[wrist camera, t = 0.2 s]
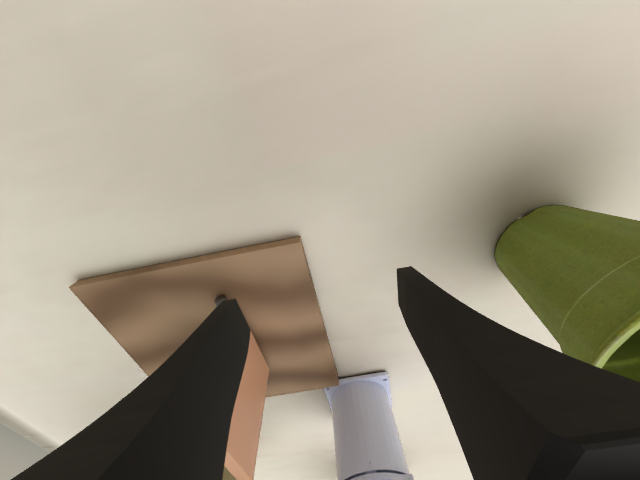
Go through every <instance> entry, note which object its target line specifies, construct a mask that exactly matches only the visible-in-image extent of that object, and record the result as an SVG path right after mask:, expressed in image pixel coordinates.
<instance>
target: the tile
mask: <svg viewBox="0 0 640 480" xmlns="http://www.w3.org/2000/svg"><path fill="white" fill-rule="evenodd" d="M268 375H269V367H268V365H267V363H266V361H265V359H264V357H263V355H262V353H261V351H260V349H259V347H258V345H257V342H256V340H255V338H254V336H253V334H252V332H250V341H249V349H248V354H247V359H246V363H245V367H244V371H243V375H242V378H241V382H240V386H239V390H238V394H237V398H236V402H235V405H234V410H233V414H232V419H231V425H230V431H229V437H228V443H227V450H226V457H225V464H224V466H225V467H226V468H227V469H228V471H229V472H230V473H231V474H232V475H233V476H234V477H235V478H236V479H237V480H253V477H254V470H255V464H256V457H257V450H258V443H259V436H260V430H261V423H262V416H263V409H264V402H265V396H266V389H267V382H268Z"/></svg>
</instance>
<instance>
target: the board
mask: <svg viewBox="0 0 640 480" xmlns="http://www.w3.org/2000/svg"><path fill="white" fill-rule="evenodd" d="M69 288H70V289H71V291H72V292H73V293H74V294H75V295H76V296H77V297H78V298H79V299H80V301H81V302H82V303H83V304H84V305H85V306H86V307H87V308H88V309H89V311H90V312H91V313H92V314H93V315H94V316H95V317H96V318H97V319H98V321H99V322H100V323H101V324H102V325H103V326H104V327H105V328H106V329H107V331H108V332H109V333H110V334H111V335H112V336H113V337H114V338H115V339H116V341H117V342H118V343H119V344H120V345H121V346H122V347H123V348H124V349H125V351H126V352H127V353H128V354H129V355H130V356H131V357H132V358H133V359H134V361H135V362H136V363H137V364H138V365H139V366H140V367H141V368H142V370H143V371H144V372H145V373H146V374H147V375H148V376H150V375H151V374H152V373H153V372H154V371H155V370H157V369H158V368H159V367H160V366H161V365H162V364H163V363H164V362H165V361H166V360H167V359H168V358H169V357H170V356H171V355H172V354H173V353H174V352H175V351H176V350H177V349H178V348H179V347H180V346H181V345H182V344H183V343H184V342H185V341H186V340H187V339H188V337H189V336H190V335H191V334H192V333H193V332H194V331H195V330H196V329H197V328H198V327H199V326H200V324H201V323H202V322H203V321H204V320H205V319H206V318H207V317H208V316H209V315H210V313H211V312H212V311H213V310H214V309H215V308H216V307H217V306H218V305H219V304H220V303H221V302H222V301H225V300H230V299H236V300H237V303H238V305H239V307H240V309H241V311H242V313H243V315H244V317H245V319H246V321H247V324H248V326H249V328H250V330H251V332H252V334H253V336H254V338H255V340H256V342H257V345H258V347H259V349H260V351H261V353H262V355H263V357H264V359H265V361H266V363H267V365H268V367H269V375H268V382H267V389H266V396H265V397H271V396H277V395H284V394H290V393H296V392H302V391H308V390H315V389H321V388H327V387H333V386H339V378H338V374H337V370H336V367H335V363H334V359H333V356H332V352H331V348H330V344H329V341H328V337H327V333H326V330H325V326H324V322H323V319H322V315H321V311H320V307H319V304H318V300H317V296H316V293H315V289H314V285H313V282H312V278H311V274H310V270H309V267H308V263H307V259H306V256H305V252H304V248H303V245H302V241H301V237H300V236H299V237H294V238H289V239H284V240H279V241H274V242H269V243H264V244H259V245H254V246H249V247H244V248H238V249H233V250H228V251H223V252H218V253H213V254H208V255H203V256H198V257H193V258H188V259H183V260H178V261H173V262H168V263H163V264H157V265H152V266H147V267H142V268H137V269H132V270H127V271H122V272H117V273H112V274H107V275H102V276H97V277H92V278H87V279H82V280H78V281H77V282H75V283H74V284H73V285H71V286H70V287H69Z"/></svg>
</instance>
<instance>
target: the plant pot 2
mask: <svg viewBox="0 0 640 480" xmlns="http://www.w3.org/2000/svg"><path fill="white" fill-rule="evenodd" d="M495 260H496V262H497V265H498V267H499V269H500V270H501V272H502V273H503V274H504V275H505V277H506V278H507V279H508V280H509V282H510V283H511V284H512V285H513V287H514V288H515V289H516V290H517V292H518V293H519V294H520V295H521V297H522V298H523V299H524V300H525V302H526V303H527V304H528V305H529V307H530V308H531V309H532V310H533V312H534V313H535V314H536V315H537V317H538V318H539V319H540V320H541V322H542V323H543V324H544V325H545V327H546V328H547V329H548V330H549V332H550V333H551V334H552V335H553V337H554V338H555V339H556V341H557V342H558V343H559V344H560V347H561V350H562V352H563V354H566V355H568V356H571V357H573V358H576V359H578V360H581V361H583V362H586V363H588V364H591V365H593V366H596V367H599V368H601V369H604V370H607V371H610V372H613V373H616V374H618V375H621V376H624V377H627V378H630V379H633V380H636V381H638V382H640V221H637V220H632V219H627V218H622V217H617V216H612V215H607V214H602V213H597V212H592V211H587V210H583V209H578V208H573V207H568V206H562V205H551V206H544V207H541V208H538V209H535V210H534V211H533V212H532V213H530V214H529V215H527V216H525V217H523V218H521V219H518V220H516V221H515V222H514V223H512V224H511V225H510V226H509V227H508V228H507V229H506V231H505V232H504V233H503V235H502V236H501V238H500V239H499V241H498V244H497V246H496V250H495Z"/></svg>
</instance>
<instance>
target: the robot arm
mask: <svg viewBox="0 0 640 480" xmlns="http://www.w3.org/2000/svg"><path fill="white" fill-rule="evenodd" d="M397 284H398V302H399V307H400V309H401V312H402V315H403V317H404V320H405V323H406V325H407V327H408V329H409V331H410V333H411V335H412V337H413V339H414V341H415V343H416V345H417V347H418V349H419V351H420V353H421V355H422V357H423V359H424V360H425V362H426V364H427V366H428V368H429V370H430V372H431V374H432V376H433V378H434V380H435V383H436V385H437V387H438V389H439V392H440V394H441V397H442V399H443V401H444V404H445V406H446V409H447V411H448V414H449V416H450V419H451V421H452V424H453V426H454V429H455V431H456V434H457V437H458V439H459V442H460V444H461V447H462V450H463V452H464V455H465V457H466V460H467V463H468V465H469V468H470V471H471V473H472V476H473V479H474V480H640V382H638V381H636V380H633V379H630V378H627V377H624V376H621V375H618V374H616V373H613V372H610V371H607V370H604V369H601V368H599V367H596V366H593V365H591V364H588V363H586V362H583V361H581V360H578V359H576V358H573V357H571V356H568V355H566V354H563V353H561V352H558V351H556V350H554V349H551V348H549V347H547V346H544V345H542V344H540V343H538V342H536V341H533V340H531V339H529V338H527V337H525V336H522V335H520V334H518V333H516V332H514V331H512V330H510V329H508V328H506V327H504V326H502V325H500V324H498V323H497V322H495V321H493V320H491V319H489V318H487V317H485V316H484V315H482V314H480V313H478V312H477V311H475V310H473V309H472V308H470V307H468V306H467V305H465V304H463V303H462V302H460V301H459V300H457V299H456V298H454V297H453V296H451V295H450V294H448V293H447V292H445V291H444V290H443V289H441V288H440V287H438V286H437V285H436V284H434V283H433V282H431V281H430V280H429V279H427V278H426V277H425V276H423V275H422V274H421V273H419V272H418V271H417V270H415V269H414V268H413V267H411V266H410V267H404V268H399V269H397ZM250 332H251V330H250V328H249V326H248V324H247V321H246V319H245V317H244V315H243V313H242V311H241V309H240V307H239V305H238V303H237V300H236V299H230V300H225V301H222V302H221V303H220V304H219V305H218V306H217V307H216V308H215V309H214V310H213V311H212V312H211V313H210V315H209V316H208V317H207V318H206V319H205V320H204V321H203V322H202V323H201V324H200V326H199V327H198V328H197V329H196V330H195V331H194V332H193V333H192V334H191V335H190V336H189V337H188V339H187V340H186V341H185V342H184V343H183V344H182V345H181V346H180V347H179V348H178V349H177V350H176V351H175V352H174V353H173V354H172V355H171V356H170V357H169V358H168V359H167V360H166V361H165V362H164V363H163V364H162V365H161V366H160V367H159V368H158V369H157V370H155V371H154V372H153V373H152V374H151V375H150V376H149V377H148V378H147V379H146V380H144V381H143V382H142V383H141V384H140V385H139V386H138V387H136V388H135V389H134V390H133V391H132V392H131V393H129V394H128V395H127V396H126V397H124V398H123V399H122V400H121V401H119V402H118V403H117V404H116V405H114V406H113V407H112V408H111V409H110V410H108V411H107V412H106V413H105V414H103V415H102V416H101V417H100V418H98V419H97V420H96V421H94V422H93V423H92V424H90V425H89V426H88V427H86V428H85V429H84V430H82V431H81V432H79V433H78V434H77V435H75V436H74V437H73V438H71V439H70V440H68V441H67V442H66V443H64V444H63V445H61V446H60V447H59V448H57V449H56V450H54V451H53V452H51V453H50V454H49V455H47V456H46V457H44V458H43V459H41V460H40V461H38V462H37V463H35V464H34V465H32V466H31V467H29V468H28V469H26V470H25V471H23V472H22V473H20V474H19V475H17V476H16V477H14V478H13V479H11V480H222V479H223V471H224V464H225V457H226V450H227V443H228V437H229V431H230V425H231V419H232V414H233V410H234V405H235V402H236V398H237V394H238V390H239V386H240V382H241V378H242V375H243V371H244V367H245V363H246V359H247V354H248V349H249V341H250ZM324 390H325V393H326V396H327V399H328V402H329V405H330V408H331V411H332V415H333V427H334V440H335V452H336V465H337V477H338V480H414V478H413V475H412V474H410V473H409V469H408V466H407V462H406V459H405V455H404V451H403V448H402V444H401V441H400V437H399V433H398V430H397V426H396V423H395V419H394V415H393V412H392V403H391V394H390V384H389V376H388V373H387V372H380V373H374V374H367V375H361V376H355V377H349V378H343V379H339V386H333V387H327V388H324Z"/></svg>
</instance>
